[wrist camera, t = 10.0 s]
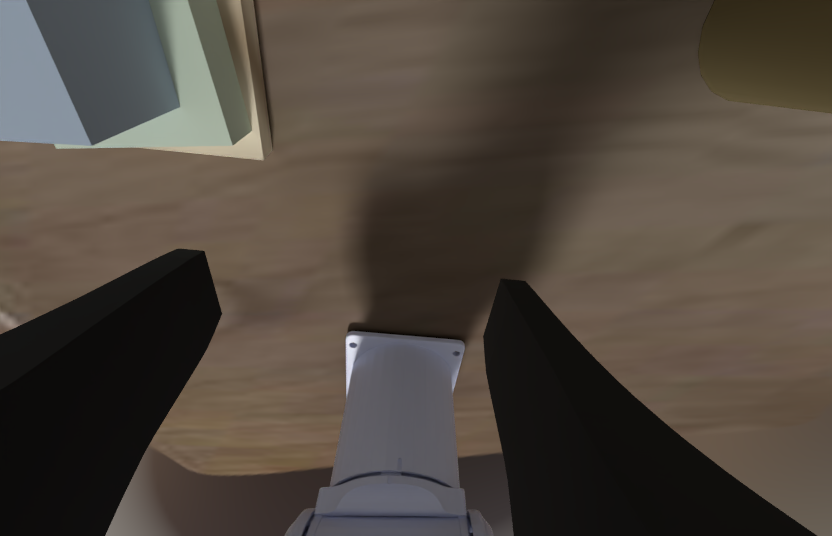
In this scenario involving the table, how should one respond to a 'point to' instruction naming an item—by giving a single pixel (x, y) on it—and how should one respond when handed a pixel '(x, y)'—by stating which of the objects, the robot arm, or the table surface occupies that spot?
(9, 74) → the blue cube
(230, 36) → the birch slab
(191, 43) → the green block
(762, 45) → the olive tall rounded piece
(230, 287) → the table surface
